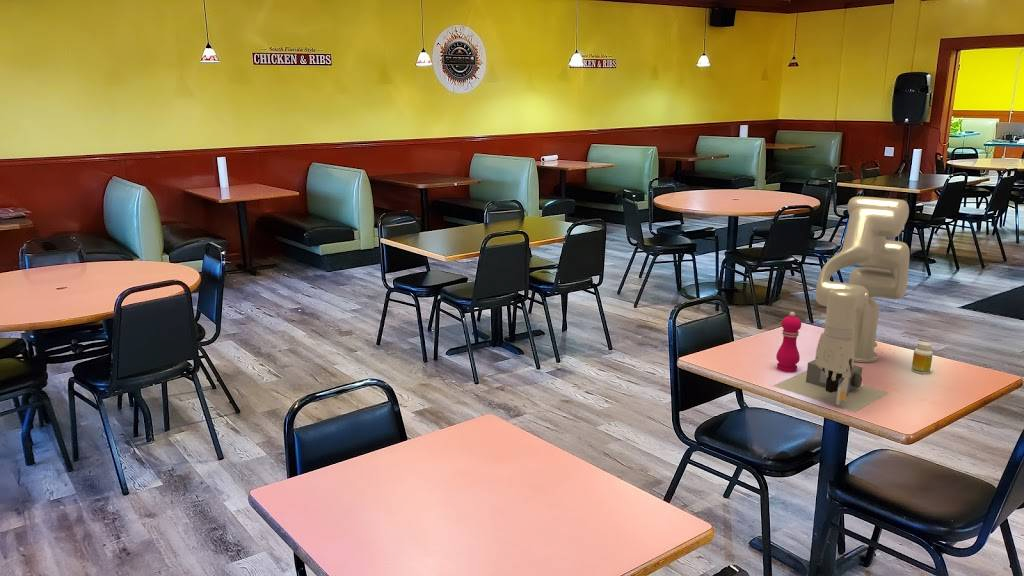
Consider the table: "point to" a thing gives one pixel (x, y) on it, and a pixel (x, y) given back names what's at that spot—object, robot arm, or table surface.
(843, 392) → the side door
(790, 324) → the pepper mill
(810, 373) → the camera body
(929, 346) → the supplement bottle
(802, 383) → the mat
